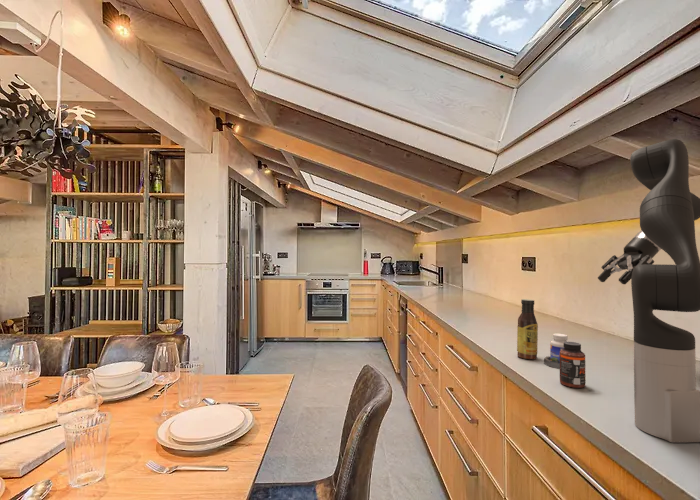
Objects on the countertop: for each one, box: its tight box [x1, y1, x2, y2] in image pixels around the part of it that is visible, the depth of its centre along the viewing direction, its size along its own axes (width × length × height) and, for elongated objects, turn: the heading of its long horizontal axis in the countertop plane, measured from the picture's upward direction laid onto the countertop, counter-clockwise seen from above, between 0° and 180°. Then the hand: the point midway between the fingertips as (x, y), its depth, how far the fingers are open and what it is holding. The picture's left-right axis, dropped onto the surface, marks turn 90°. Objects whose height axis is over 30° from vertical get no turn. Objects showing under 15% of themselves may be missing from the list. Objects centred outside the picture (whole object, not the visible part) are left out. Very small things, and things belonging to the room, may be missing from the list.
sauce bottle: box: [516, 298, 539, 360], centre depth 120 cm, size 6×6×20 cm
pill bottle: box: [549, 333, 569, 363], centre depth 112 cm, size 5×5×10 cm
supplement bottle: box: [559, 341, 587, 389], centre depth 95 cm, size 6×6×11 cm
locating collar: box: [543, 355, 560, 370], centre depth 112 cm, size 8×8×2 cm
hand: (610, 281), depth 109 cm, fingers open, 8 cm apart
